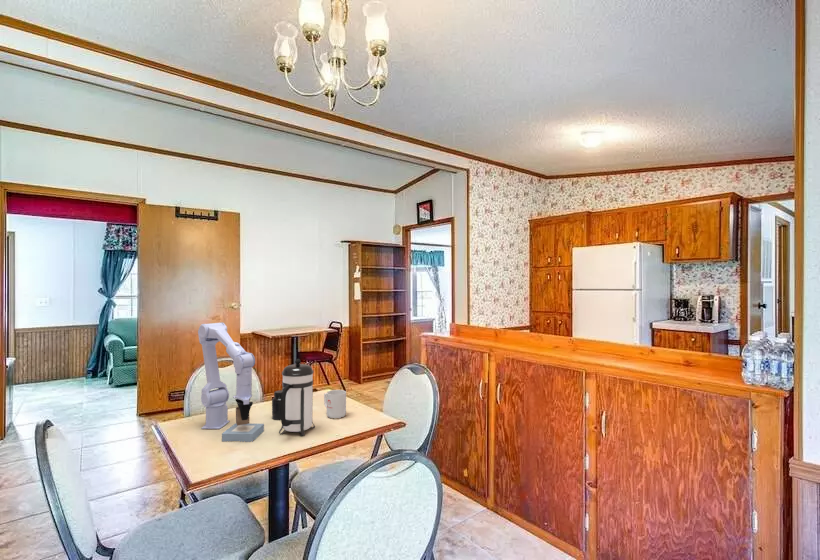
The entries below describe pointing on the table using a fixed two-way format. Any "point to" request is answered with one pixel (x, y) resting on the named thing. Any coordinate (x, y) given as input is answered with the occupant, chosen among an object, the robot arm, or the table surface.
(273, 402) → the supplement bottle
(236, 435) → the slate plinth
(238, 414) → the walnut block
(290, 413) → the coffee press
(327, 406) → the mug
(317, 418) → the table surface
